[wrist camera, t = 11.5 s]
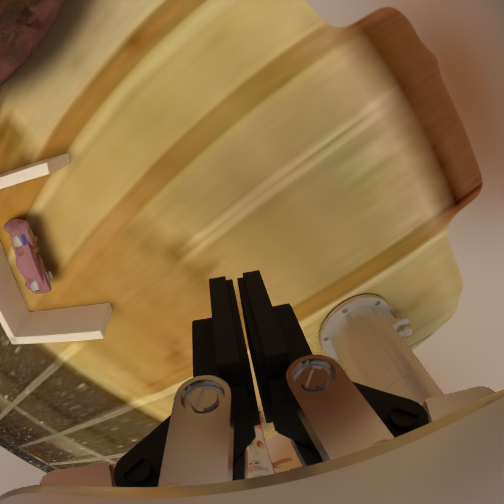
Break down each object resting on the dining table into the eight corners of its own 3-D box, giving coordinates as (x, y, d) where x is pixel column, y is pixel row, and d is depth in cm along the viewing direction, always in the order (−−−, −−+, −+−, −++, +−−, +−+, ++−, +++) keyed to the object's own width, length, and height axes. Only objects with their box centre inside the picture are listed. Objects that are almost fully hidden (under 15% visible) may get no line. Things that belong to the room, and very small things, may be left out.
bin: (68, 152, 31) (46, 162, 25) (112, 309, 40) (103, 338, 35) (-23, 182, 29) (-49, 196, 24) (26, 318, 39) (12, 344, 33)
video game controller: (55, 274, 38) (58, 296, 33) (28, 285, 36) (27, 309, 31) (32, 208, 34) (30, 220, 29) (3, 220, 32) (-4, 234, 26)
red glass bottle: (262, 403, 54) (298, 544, 29) (261, 424, 57) (293, 551, 32) (221, 408, 53) (245, 553, 28) (224, 428, 56) (246, 559, 31)
